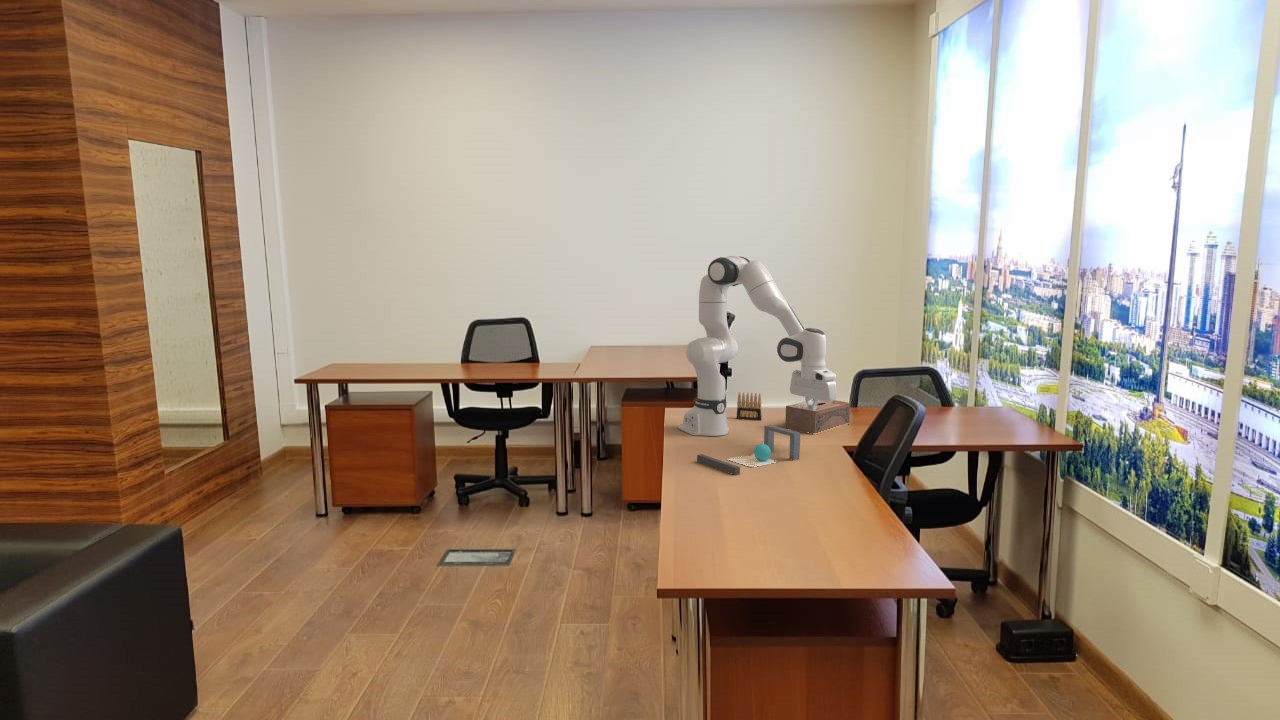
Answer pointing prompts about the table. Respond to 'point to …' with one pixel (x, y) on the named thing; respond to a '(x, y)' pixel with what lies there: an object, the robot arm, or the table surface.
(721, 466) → the stopper
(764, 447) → the ball
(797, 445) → the bridge
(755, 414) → the ammunition clip
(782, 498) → the table surface
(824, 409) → the tissue box cover
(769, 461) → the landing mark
